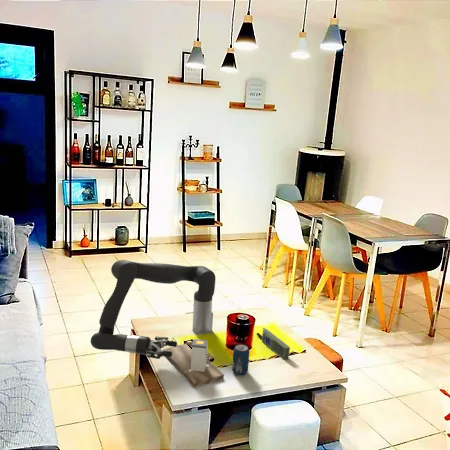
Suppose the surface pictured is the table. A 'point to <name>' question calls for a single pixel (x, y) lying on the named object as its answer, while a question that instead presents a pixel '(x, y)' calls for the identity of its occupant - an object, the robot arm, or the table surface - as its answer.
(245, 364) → the soda can
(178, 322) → the table surface
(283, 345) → the handheld radio
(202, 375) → the subfloor panel
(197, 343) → the white tall block
